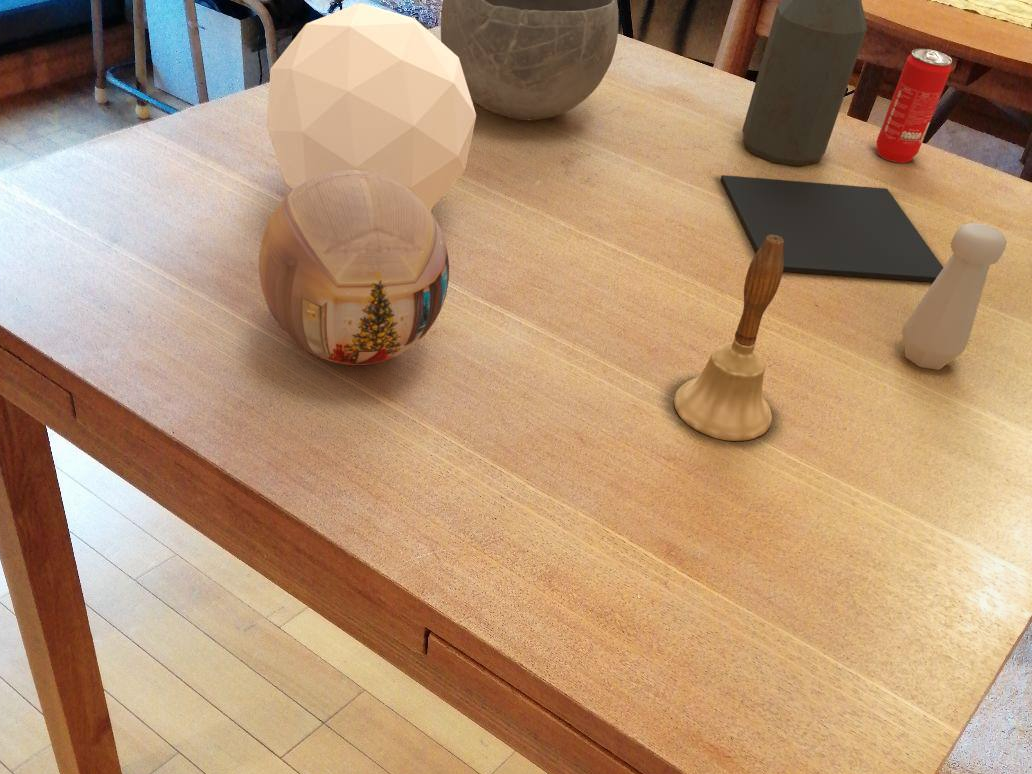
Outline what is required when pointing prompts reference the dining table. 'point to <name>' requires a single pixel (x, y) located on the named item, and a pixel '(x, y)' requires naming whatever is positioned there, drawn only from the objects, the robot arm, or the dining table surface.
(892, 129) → the beverage can
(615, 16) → the bowl
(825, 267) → the mat
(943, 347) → the salt shaker
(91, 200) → the dining table surface
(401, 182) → the ball
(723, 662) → the dining table surface
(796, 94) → the bottle
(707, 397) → the hand bell
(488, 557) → the dining table surface
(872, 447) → the dining table surface
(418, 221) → the ornament
